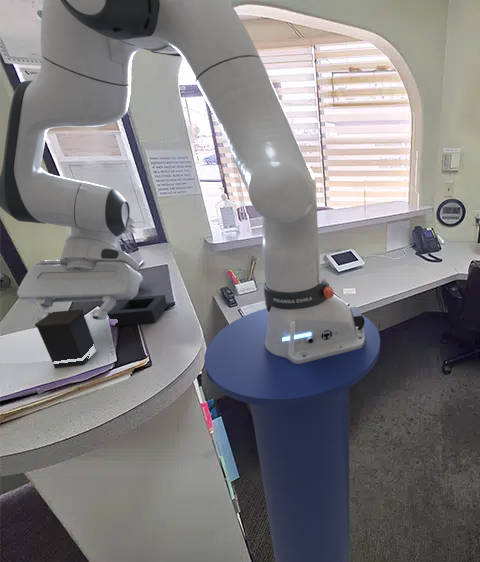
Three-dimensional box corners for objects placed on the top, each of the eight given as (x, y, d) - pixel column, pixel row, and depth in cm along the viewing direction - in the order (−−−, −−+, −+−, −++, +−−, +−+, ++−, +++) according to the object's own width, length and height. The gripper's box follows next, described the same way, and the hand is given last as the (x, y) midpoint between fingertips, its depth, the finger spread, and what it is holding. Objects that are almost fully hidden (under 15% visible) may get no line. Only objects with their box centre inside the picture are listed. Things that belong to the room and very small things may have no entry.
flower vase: (150, 277, 105) (131, 202, 96) (151, 296, 91) (129, 211, 82) (101, 284, 98) (74, 204, 89) (94, 307, 84) (61, 215, 75)
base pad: (167, 306, 86) (164, 294, 85) (155, 322, 78) (151, 310, 76) (128, 309, 84) (124, 297, 82) (111, 326, 75) (106, 314, 74)
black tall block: (98, 350, 66) (82, 309, 62) (84, 365, 62) (67, 321, 58) (69, 353, 65) (52, 311, 61) (54, 368, 60) (34, 324, 57)
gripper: (20, 253, 63) (-5, 319, 58) (132, 251, 67) (118, 313, 61) (46, 267, 69) (25, 327, 64) (147, 264, 72) (136, 321, 67)
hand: (72, 320), depth 63 cm, fingers open, 8 cm apart
